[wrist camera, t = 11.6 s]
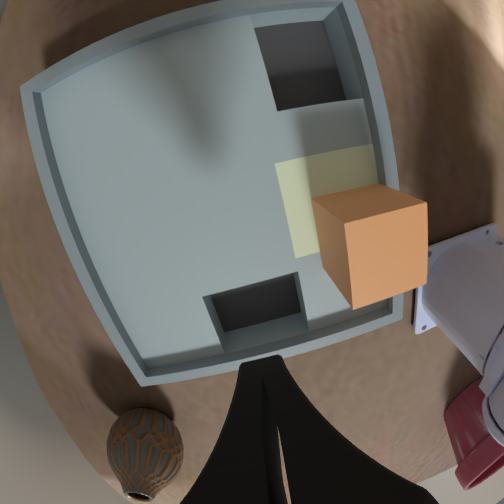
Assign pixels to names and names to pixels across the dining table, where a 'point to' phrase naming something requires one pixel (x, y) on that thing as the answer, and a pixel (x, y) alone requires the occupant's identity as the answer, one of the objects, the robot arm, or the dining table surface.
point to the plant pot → (472, 438)
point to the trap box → (213, 178)
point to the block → (372, 242)
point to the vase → (144, 452)
